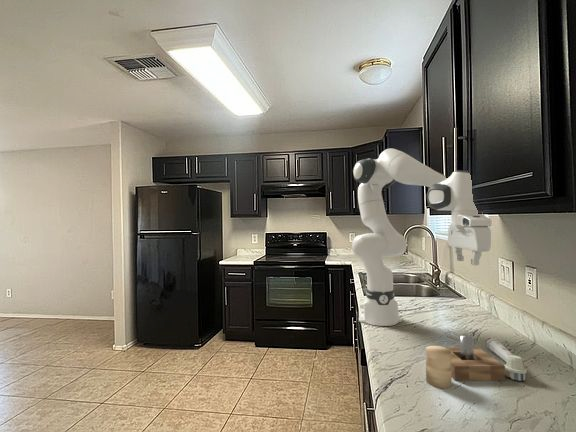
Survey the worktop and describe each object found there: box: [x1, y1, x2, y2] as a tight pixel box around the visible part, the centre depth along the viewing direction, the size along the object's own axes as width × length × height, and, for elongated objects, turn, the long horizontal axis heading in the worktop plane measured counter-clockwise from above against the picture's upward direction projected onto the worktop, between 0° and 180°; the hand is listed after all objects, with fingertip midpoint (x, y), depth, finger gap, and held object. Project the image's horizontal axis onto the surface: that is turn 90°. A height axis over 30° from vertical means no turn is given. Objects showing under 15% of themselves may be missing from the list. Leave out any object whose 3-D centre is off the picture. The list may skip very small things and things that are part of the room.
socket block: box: [444, 346, 506, 381], centre depth 103 cm, size 14×14×4 cm
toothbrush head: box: [485, 337, 528, 382], centre depth 106 cm, size 5×7×25 cm
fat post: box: [425, 345, 453, 389], centre depth 95 cm, size 6×6×9 cm
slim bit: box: [459, 333, 474, 360], centre depth 103 cm, size 4×4×10 cm
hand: (467, 262), depth 110 cm, fingers open, 8 cm apart
